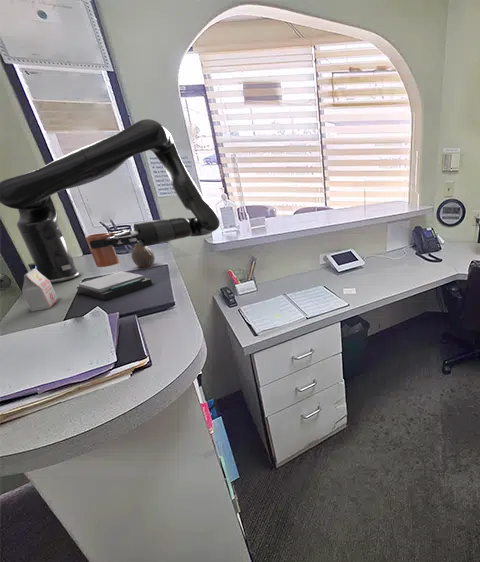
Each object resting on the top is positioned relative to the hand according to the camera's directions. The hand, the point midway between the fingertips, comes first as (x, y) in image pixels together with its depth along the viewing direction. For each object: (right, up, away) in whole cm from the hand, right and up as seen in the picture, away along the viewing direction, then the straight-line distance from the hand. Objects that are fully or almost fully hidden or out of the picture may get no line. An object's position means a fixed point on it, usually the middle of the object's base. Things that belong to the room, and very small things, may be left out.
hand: (88, 243), depth 89 cm
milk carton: (-10, -18, -3) cm, 20 cm away
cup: (+2, -6, +4) cm, 7 cm away
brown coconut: (-5, -5, +29) cm, 30 cm away
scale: (+2, -13, +7) cm, 15 cm away
